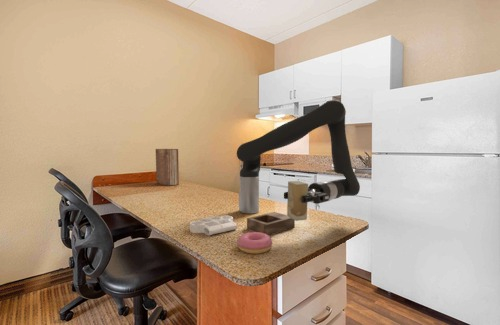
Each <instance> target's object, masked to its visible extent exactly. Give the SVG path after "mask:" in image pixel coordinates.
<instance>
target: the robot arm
mask: <svg viewBox="0 0 500 325" xmlns="http://www.w3.org/2000/svg"><path fill="white" fill-rule="evenodd" d="M345 107H346V106H344V104H343V102H341V101H340V100H337V99H331V100H328V101H325V102H324V103H322V104H321V105H319V106H318V107H316V108H314V109H312V110H311V111H310V112H308V113H306V114H304V115H301V116H299V117H296V118H294V119H292V120H290V121H287V122H285V123H283V124H282V125H279V126H277V127H276V128H274V129H271V130H270V131H268V132H267V133H265V134H263V135H262V136H259V137H257V138H254V139H253V140H250V141H246V142H244V143H242V144H241V145H239V147H237V149H236V157H237V159H238V160H239V161H241V162H242V167H241V169H240V170H239V191H238V211H239V212H240V213H243V214H256V213H258V212H259V211H260V170H261V163H262V162H261V160H262V158H261V157H262V156H261V155H263V154H264V153H268V152H270V151H273V150H274V151H275V150H277V149H280V148H284V147H287V146H289V145H291V144H293V143H295V142H298V141H300V140H301V139H303V138H304V137H305V136H307V135H309V133H311V132H312V131H314V130H316V129H318V128H321V127H323V126H326V125H327V127H328V130H329V135H330V146H331V147H330V148H331V158H332V164H333V165H332V166H333V170H334V173H336V174H341V175H343V177H344V178H340V179H334V180H330V181H327V180H325V181H323V180H322V181H317V182H312V183H311V184H308V195H305V196H302V203H307V204H308V203H313V204H317V205H318V204H322V203H326V202H330V201H332V200H335V199H340V198H341V197H347V196H348V197H352V196H353V197H354V196H358V195H359V193H360V189H361V188H360V187H361V186H360V182H359V180H358V178H357V176H356V174H355V171H354V169H353V166H352V160H351V154H350V149H349V146H348V140H347V134H346V113H347V111H346V108H345ZM283 199H285V200H288V191H284V192H283Z"/></svg>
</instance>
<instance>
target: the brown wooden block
mask: <svg viewBox="0 0 500 325" xmlns="http://www.w3.org/2000/svg"><path fill="white" fill-rule="evenodd" d="M179 165H180V163H179V148H155V171H156V172H155V174H156V175H155V176H156V178H155V179H156V184H158V185H159V184H160V185H163V186H167V187H170V186H174V185H175V186H176V185H177V186H180V172H179V171H180V170H179V168H180V167H179Z"/></svg>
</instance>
